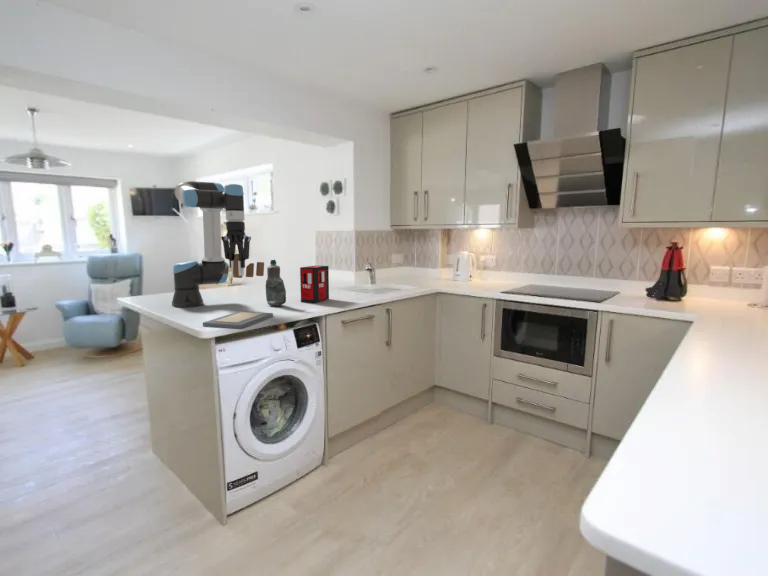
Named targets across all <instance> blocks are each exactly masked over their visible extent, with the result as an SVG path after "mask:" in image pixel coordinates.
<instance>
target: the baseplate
mask: <svg viewBox="0 0 768 576" xmlns="http://www.w3.org/2000/svg"><path fill="white" fill-rule="evenodd" d="M272 317H274V313H273V312H261V311H260V312H259V311H243V310H242V311H241V310H239V311H236V312H233V313H232V312H231V313H229V314H226V315H223V316H220V317H216V318H213V319H209V320H206V321H204V322H202V327H208V326H210V327H209V328H211V327H212V328H213V327H214V328H225V329H227V328H228V329H240V330H241V329H245V328H246V327H248V326H251V325H254V324H257V323H259V322H261V321H264V320H267V319H269V318H272Z"/></svg>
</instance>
